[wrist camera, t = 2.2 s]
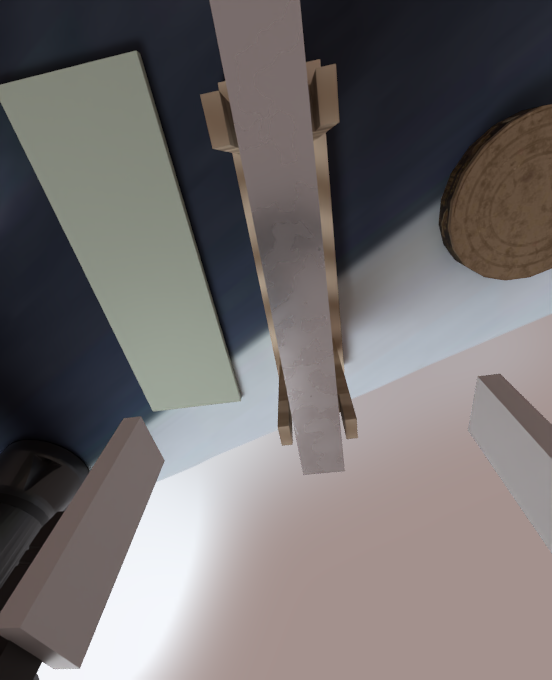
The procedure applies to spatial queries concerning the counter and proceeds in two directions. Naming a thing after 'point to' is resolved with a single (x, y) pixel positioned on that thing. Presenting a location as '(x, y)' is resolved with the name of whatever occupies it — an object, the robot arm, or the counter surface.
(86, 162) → the sage mat
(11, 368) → the counter surface
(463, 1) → the counter surface
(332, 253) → the rail rack
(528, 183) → the wooden log slice
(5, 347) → the counter surface
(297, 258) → the steel rail
